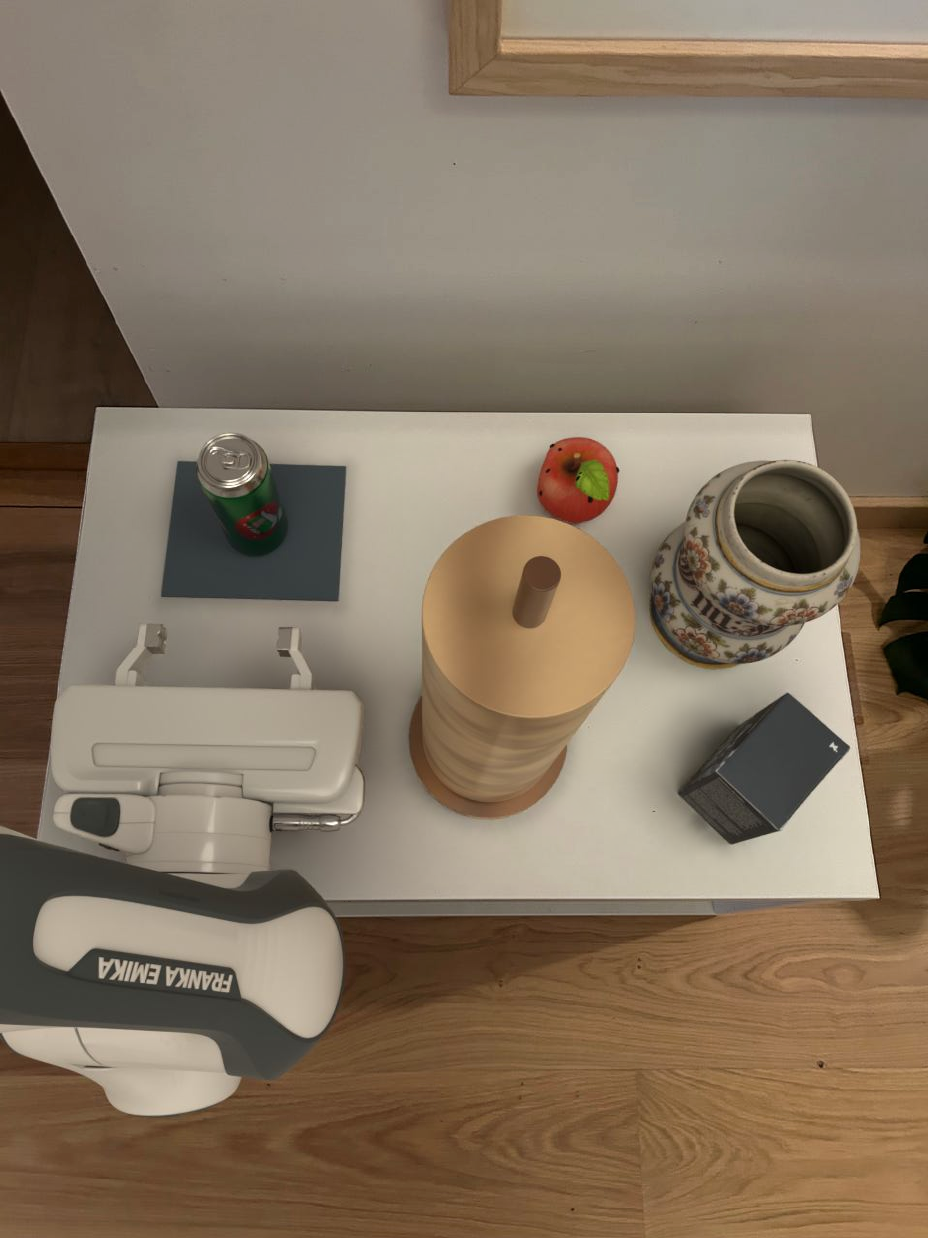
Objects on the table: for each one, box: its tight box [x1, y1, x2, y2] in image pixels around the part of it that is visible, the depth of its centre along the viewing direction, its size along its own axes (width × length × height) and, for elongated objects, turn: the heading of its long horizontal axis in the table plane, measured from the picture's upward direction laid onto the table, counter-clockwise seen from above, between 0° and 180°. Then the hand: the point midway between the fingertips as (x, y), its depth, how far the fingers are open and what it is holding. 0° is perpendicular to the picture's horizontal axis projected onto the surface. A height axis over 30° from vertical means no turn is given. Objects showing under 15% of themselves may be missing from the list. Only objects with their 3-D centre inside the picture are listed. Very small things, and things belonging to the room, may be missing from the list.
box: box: [677, 692, 851, 846], centre depth 67 cm, size 8×6×11 cm
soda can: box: [196, 432, 288, 556], centre depth 71 cm, size 5×5×12 cm
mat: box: [160, 460, 347, 602], centre depth 77 cm, size 14×12×1 cm
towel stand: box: [408, 514, 637, 820], centre depth 56 cm, size 12×12×35 cm
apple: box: [536, 436, 620, 524], centre depth 74 cm, size 8×7×10 cm
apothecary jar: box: [649, 459, 861, 670], centre depth 68 cm, size 12×12×18 cm
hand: (222, 627), depth 65 cm, fingers open, 8 cm apart
